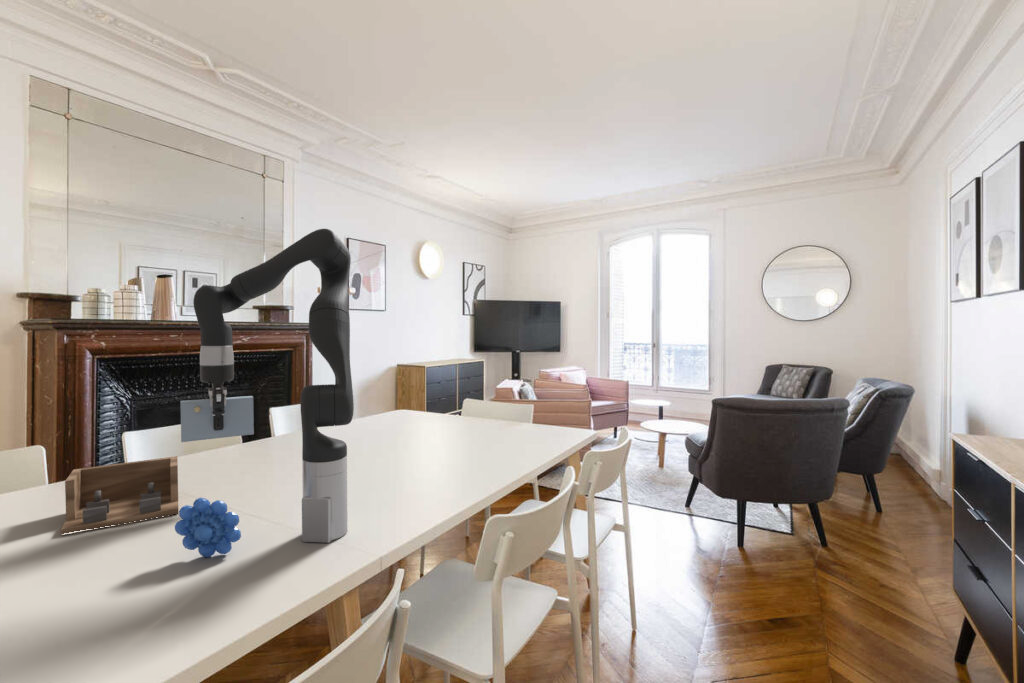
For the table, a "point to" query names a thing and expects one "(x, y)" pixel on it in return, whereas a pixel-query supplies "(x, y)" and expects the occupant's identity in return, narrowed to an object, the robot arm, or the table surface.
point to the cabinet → (120, 493)
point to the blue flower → (208, 527)
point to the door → (201, 419)
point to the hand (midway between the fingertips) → (218, 428)
